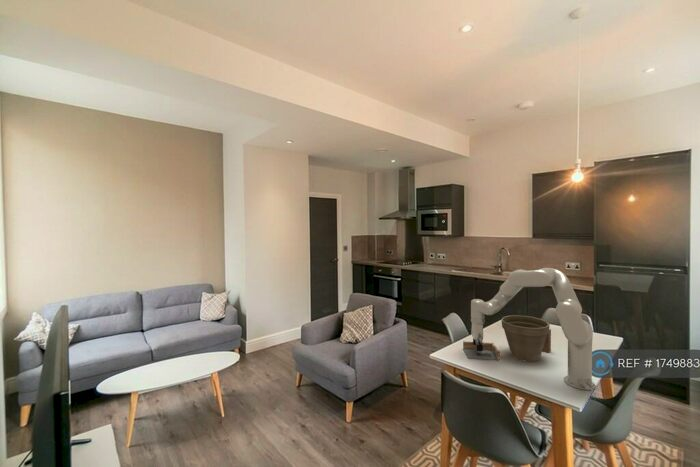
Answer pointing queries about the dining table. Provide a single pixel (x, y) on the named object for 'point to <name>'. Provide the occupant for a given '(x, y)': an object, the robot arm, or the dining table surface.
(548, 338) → the wooden block
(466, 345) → the walls
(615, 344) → the dining table surface
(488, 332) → the dining table surface
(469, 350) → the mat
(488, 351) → the bracket
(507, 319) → the plant pot
